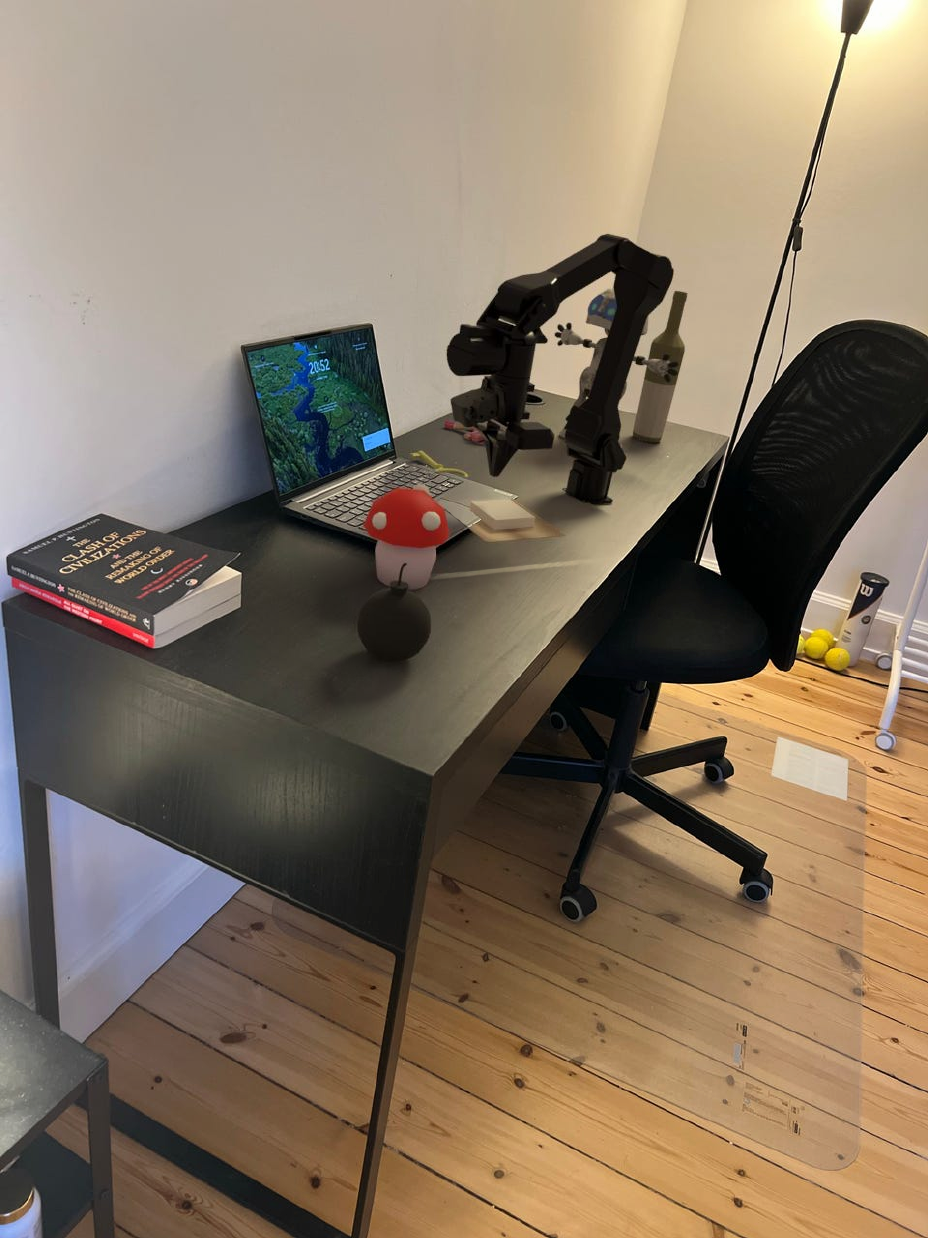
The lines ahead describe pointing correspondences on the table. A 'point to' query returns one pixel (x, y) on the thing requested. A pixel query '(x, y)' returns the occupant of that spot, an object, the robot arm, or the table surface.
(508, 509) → the tile
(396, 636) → the bomb
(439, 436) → the table surface
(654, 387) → the bottle
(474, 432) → the toy
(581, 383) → the toy robot
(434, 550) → the mushroom
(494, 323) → the robot arm
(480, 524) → the mat
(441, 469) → the key
